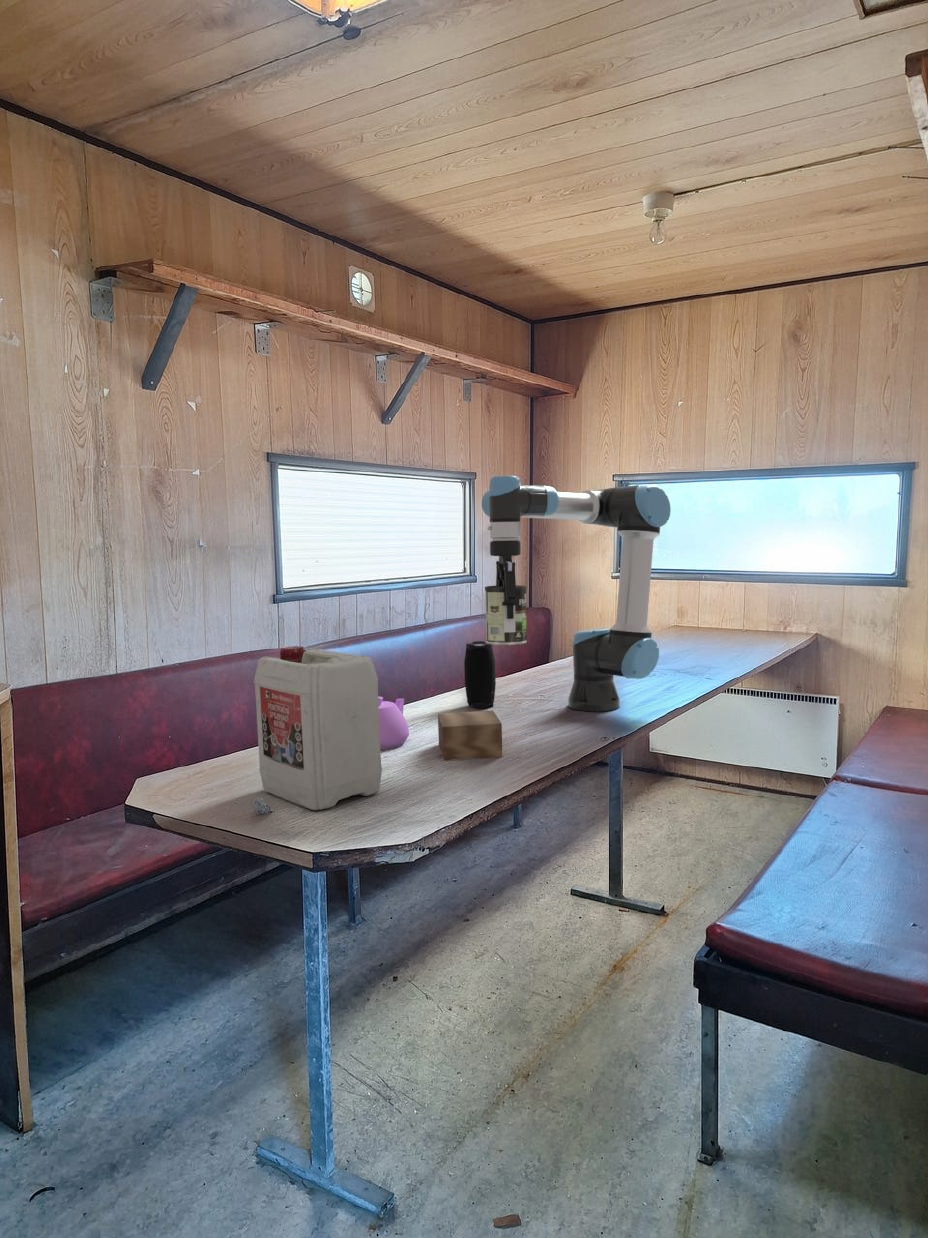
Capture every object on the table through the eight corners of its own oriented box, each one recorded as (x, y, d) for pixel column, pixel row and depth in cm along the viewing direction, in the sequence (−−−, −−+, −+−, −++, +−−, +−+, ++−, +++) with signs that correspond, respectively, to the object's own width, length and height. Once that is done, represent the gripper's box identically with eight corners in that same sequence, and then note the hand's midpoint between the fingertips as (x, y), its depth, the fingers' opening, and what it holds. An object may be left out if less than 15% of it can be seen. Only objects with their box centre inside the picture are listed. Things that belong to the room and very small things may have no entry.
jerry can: (252, 791, 169) (243, 651, 166) (325, 771, 182) (319, 640, 179) (316, 818, 152) (308, 662, 149) (392, 793, 165) (387, 649, 162)
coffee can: (529, 640, 204) (528, 584, 202) (524, 645, 194) (523, 587, 192) (489, 640, 206) (488, 585, 204) (482, 645, 196) (481, 587, 194)
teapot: (377, 758, 192) (375, 708, 191) (327, 750, 200) (324, 703, 198) (427, 736, 211) (426, 691, 209) (380, 730, 219) (378, 686, 217)
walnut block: (493, 741, 203) (493, 710, 202) (502, 756, 189) (501, 723, 189) (438, 744, 202) (437, 713, 201) (443, 760, 188) (442, 726, 187)
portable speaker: (501, 706, 243) (499, 642, 240) (474, 711, 238) (472, 645, 236) (486, 701, 250) (484, 639, 248) (460, 705, 245) (458, 642, 243)
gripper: (483, 539, 208) (484, 625, 210) (496, 540, 186) (498, 635, 188) (512, 539, 209) (513, 624, 211) (528, 539, 186) (529, 634, 189)
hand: (506, 629), depth 199 cm, fingers closed on coffee can, 10 cm apart
